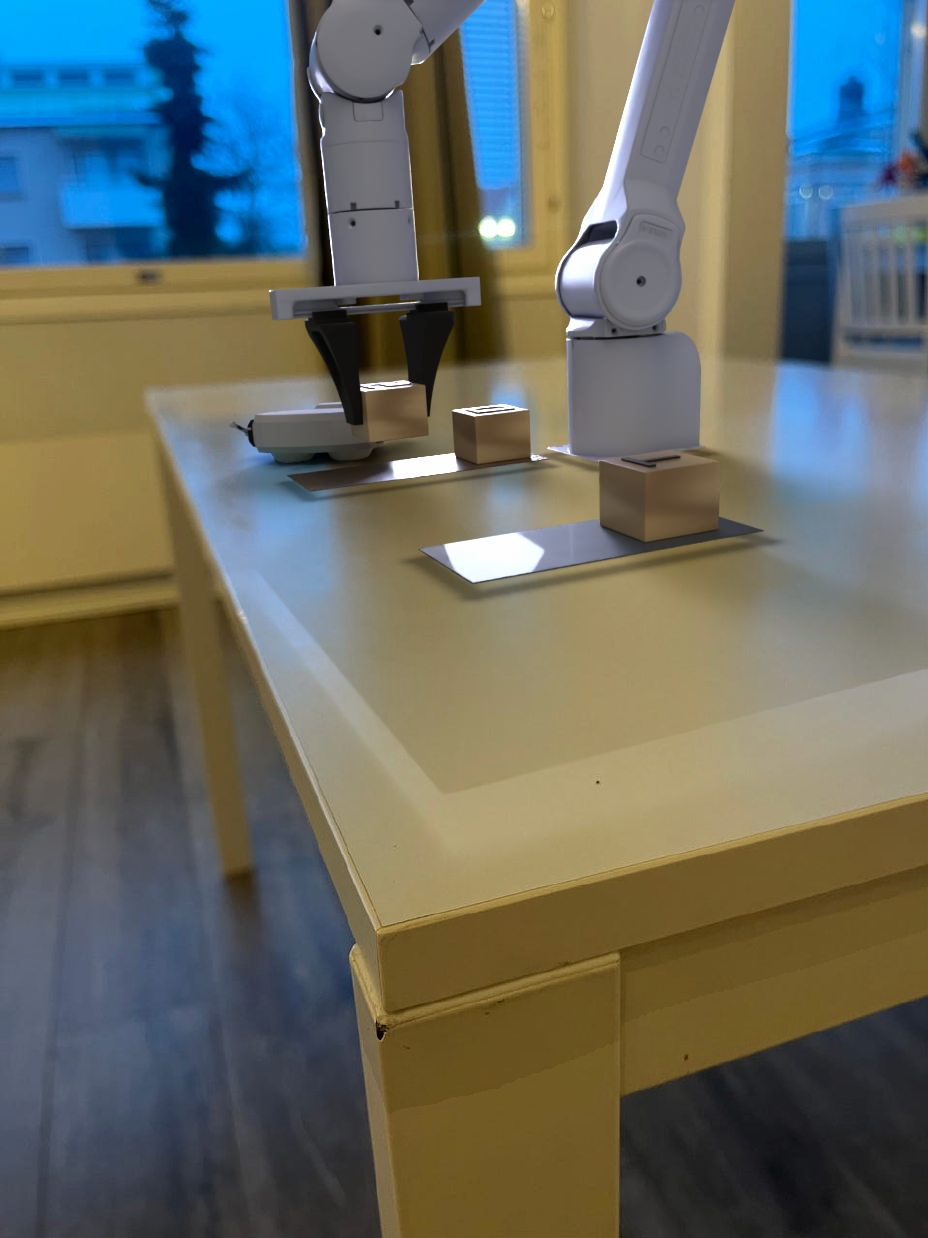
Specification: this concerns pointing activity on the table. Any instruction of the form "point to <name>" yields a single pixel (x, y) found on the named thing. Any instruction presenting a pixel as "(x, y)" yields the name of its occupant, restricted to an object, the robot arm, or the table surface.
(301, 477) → the strip back
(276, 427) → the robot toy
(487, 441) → the tile
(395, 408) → the tile
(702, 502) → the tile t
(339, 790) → the table surface
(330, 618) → the table surface
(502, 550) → the strip front
